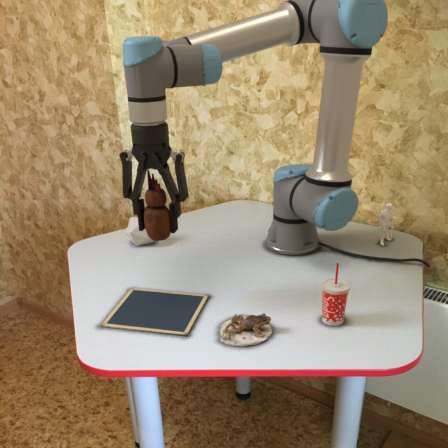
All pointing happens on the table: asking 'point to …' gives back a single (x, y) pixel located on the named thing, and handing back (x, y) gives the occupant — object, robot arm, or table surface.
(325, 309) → the beverage cup
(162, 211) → the wooden figurine
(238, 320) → the frog figurine
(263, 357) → the table surface
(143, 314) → the framed chalkboard
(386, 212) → the action figure
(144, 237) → the die
